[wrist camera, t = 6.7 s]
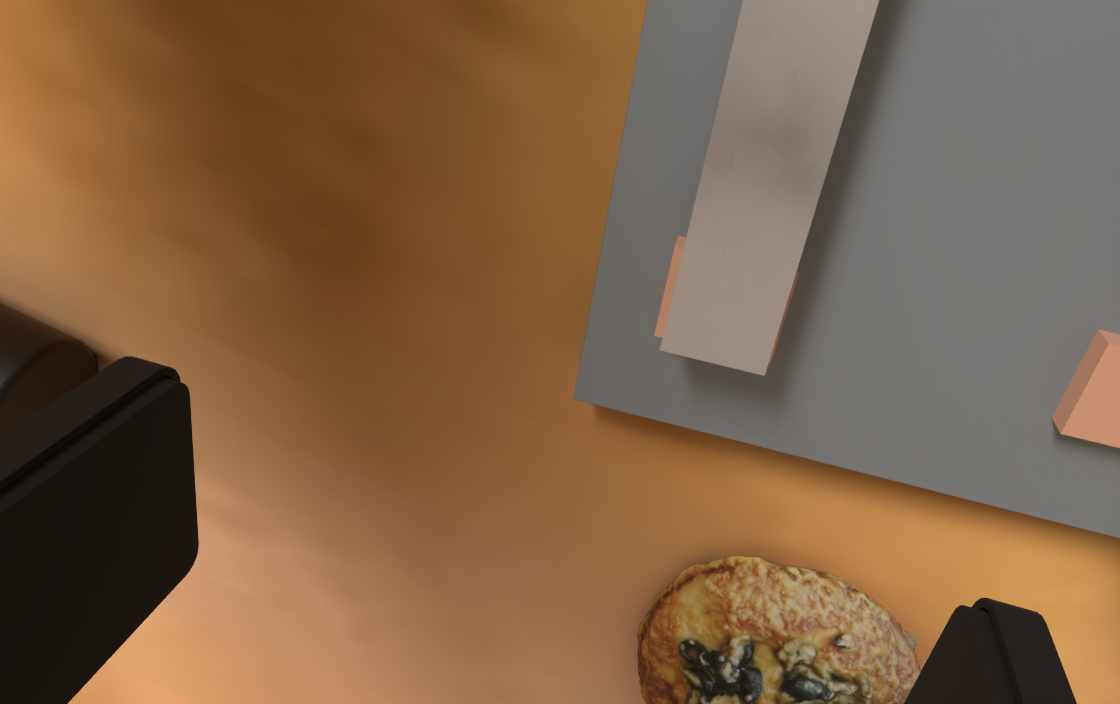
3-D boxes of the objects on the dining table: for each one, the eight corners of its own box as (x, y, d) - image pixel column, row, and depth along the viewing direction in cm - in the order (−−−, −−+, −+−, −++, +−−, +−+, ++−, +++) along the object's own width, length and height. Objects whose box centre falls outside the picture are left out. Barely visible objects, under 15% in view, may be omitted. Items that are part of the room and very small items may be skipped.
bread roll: (671, 751, 38) (658, 845, 33) (615, 536, 35) (593, 607, 31) (933, 742, 35) (958, 845, 30) (894, 506, 32) (917, 580, 27)
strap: (836, -385, 18) (842, -417, 16) (982, -366, 17) (1002, -398, 16) (664, 332, 25) (658, 354, 23) (764, 357, 24) (764, 380, 23)
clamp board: (760, -547, 19) (755, -691, 14) (1798, -446, 16) (2179, -584, 12) (585, 372, 30) (552, 447, 26) (1171, 518, 28) (1244, 629, 23)
